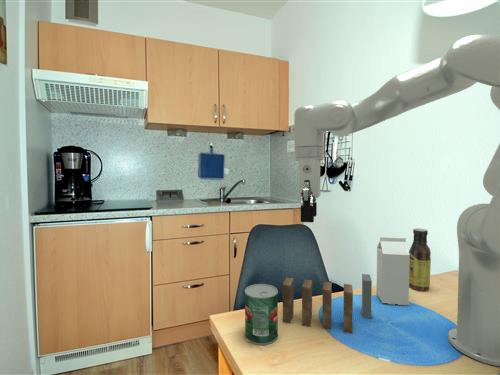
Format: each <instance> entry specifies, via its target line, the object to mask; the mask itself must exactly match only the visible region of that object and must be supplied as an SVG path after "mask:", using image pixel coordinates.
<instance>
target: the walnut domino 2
mask: <svg viewBox="0 0 500 375" xmlns="http://www.w3.org/2000/svg"><path fill="white" fill-rule="evenodd" d="M301 296H302V297H301V326H304V327H311V325H312V324H311V323H312V320H313V280H312V279H304V280H303V283H302V286H301Z"/></svg>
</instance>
